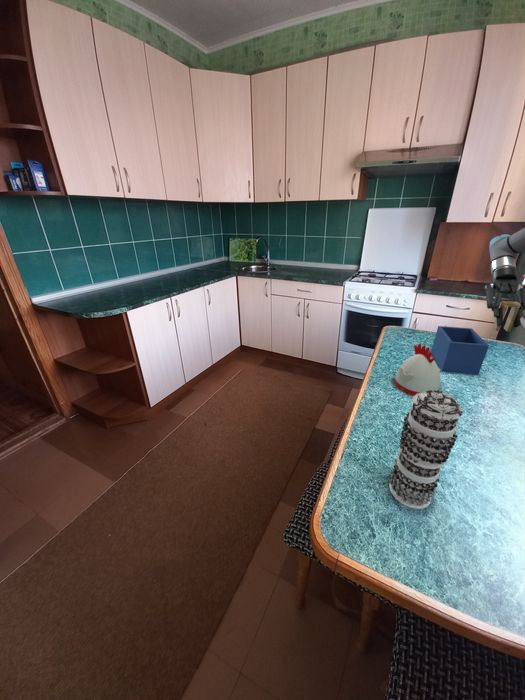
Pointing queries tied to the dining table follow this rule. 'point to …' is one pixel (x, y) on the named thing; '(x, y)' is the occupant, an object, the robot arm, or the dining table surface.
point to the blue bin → (459, 350)
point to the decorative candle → (424, 447)
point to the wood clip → (511, 316)
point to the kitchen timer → (418, 373)
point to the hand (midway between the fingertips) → (508, 325)
